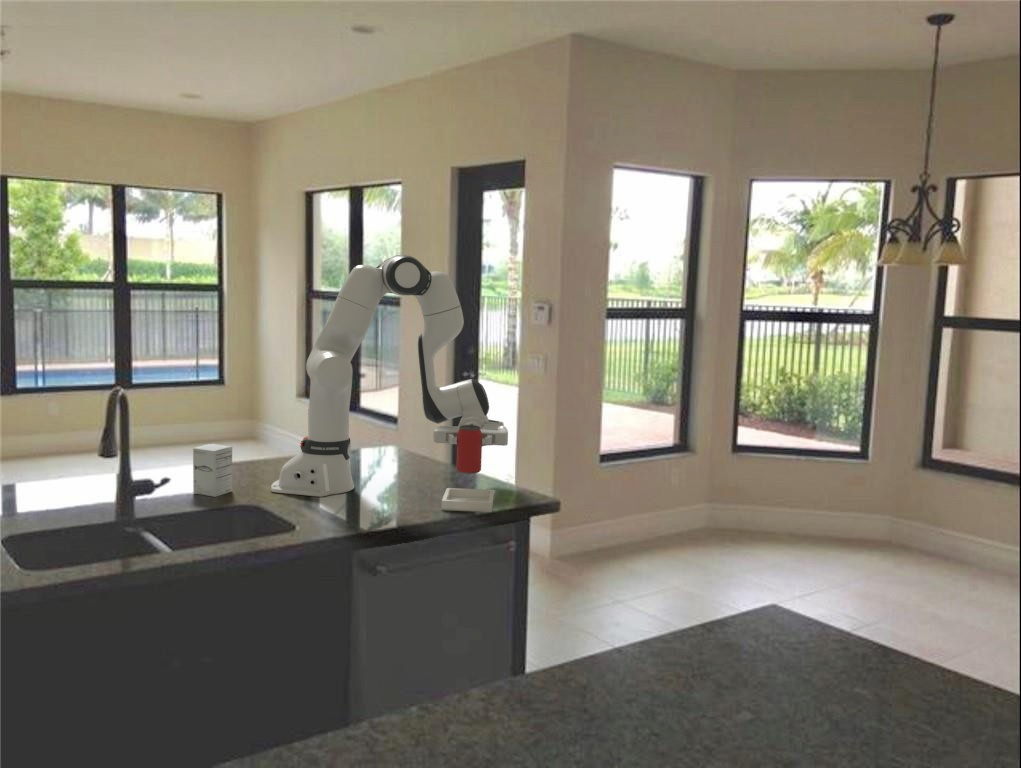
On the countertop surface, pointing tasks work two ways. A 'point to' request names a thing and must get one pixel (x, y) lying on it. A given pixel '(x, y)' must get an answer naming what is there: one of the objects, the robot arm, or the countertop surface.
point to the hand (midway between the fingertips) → (469, 441)
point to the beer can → (469, 449)
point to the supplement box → (212, 470)
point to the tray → (468, 500)
